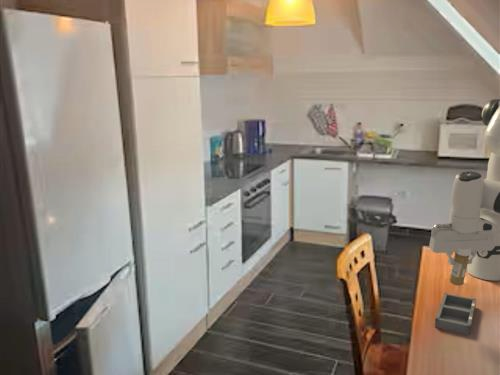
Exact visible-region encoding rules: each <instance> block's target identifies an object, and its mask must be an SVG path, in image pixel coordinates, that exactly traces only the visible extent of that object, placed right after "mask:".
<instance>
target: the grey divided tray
mask: <svg viewBox="0 0 500 375" xmlns="http://www.w3.org/2000/svg"><path fill="white" fill-rule="evenodd" d="M476 303H477V299H476V298H473V297H472V298H471V297H469V296H468V297H467V296H462V295H458V294H452V293H446V292H444V293H443V297H442V300H441V303H440V305H439V308H438V310H437V314H436V317H435V321H434V322H435V323H434V328H438V329H442V330H446V331H451V332H453V333H454V332H456V333H459V334H464V335H466V336H467V335H468V336H470V334H471V329H472V325H473V319H474V315H475V311H476Z"/></svg>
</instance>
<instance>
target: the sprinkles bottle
mask: <svg viewBox="0 0 500 375" xmlns="http://www.w3.org/2000/svg"><path fill="white" fill-rule="evenodd" d="M470 254H471V248H463V249H461V248H460V249H458V251H457V252H454V257H453V258H454V259H455V264H454V265H451V269H450V270H451V271H450V276H449V279H448V281H449V283H450V284H452V285H453V286H458V287H459V286H463V285H464V283H465V279H466V278H465V276H466V274H467V265H468V259H469V256H470Z"/></svg>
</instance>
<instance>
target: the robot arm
mask: <svg viewBox="0 0 500 375" xmlns="http://www.w3.org/2000/svg"><path fill="white" fill-rule="evenodd" d="M481 121H482V123H483V125H484V126H486V128H485V132H484V136H483V141H484V144H485V146H486V148H487V150H489V151H490V152H491V153H490V156H489V159H488V162H487V173H486V178H483V175H482V174H481V173H480V172H476V171H471V170H470V171H469V170H468V171H461V172H459V173H457V174H456V175H455V177H454V181H453V185H452V190H451V196H450V197H451V198H450V200H451V207H450V211H449V218H448V223H442V224H441V223H438V224H435V225H434V226H433V227H431V231H430V232H431V236H430V239H429V246H428V247H429V249H430V250H431V251H432V252H433V253H435V254H445V255H446V256H447V258H448V259H447V263H448V264H449V265H451V266H452V265H454V264H455V259H454V257H452V256H453V255H454V253H455V252H457V251H458V249H460V248H461V249H463V248H471V254H470V256H469V259H468V265H467V269H466V272H467V273H468V274H469V275H471V276H472V277H475V278H478V279H481V280H487V281H496V282H497V281H498V282H499V281H500V98H494V99H490V100H489V101H487V102H486V103H485V105H484V107H483V108H482V111H481Z"/></svg>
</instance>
